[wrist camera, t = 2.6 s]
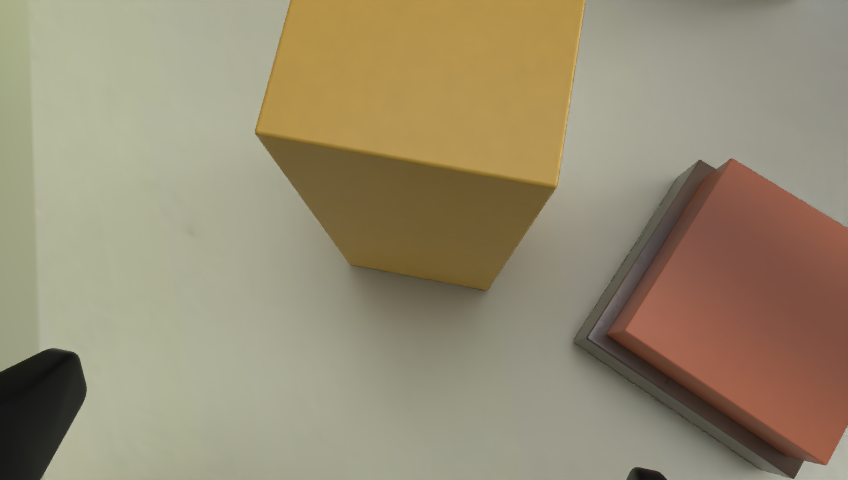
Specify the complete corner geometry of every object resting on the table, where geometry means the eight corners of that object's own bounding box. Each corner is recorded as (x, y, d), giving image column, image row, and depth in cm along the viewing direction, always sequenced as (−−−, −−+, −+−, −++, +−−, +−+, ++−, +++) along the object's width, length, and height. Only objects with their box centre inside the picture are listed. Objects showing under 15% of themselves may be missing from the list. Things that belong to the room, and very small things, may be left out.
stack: (761, 470, 22) (834, 491, 18) (572, 341, 23) (601, 334, 19) (860, 289, 23) (948, 272, 19) (677, 176, 24) (726, 137, 20)
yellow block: (488, 290, 23) (557, 188, 10) (348, 264, 23) (252, 133, 11) (510, 158, 24) (598, -79, 12) (378, 134, 25) (322, -122, 12)
